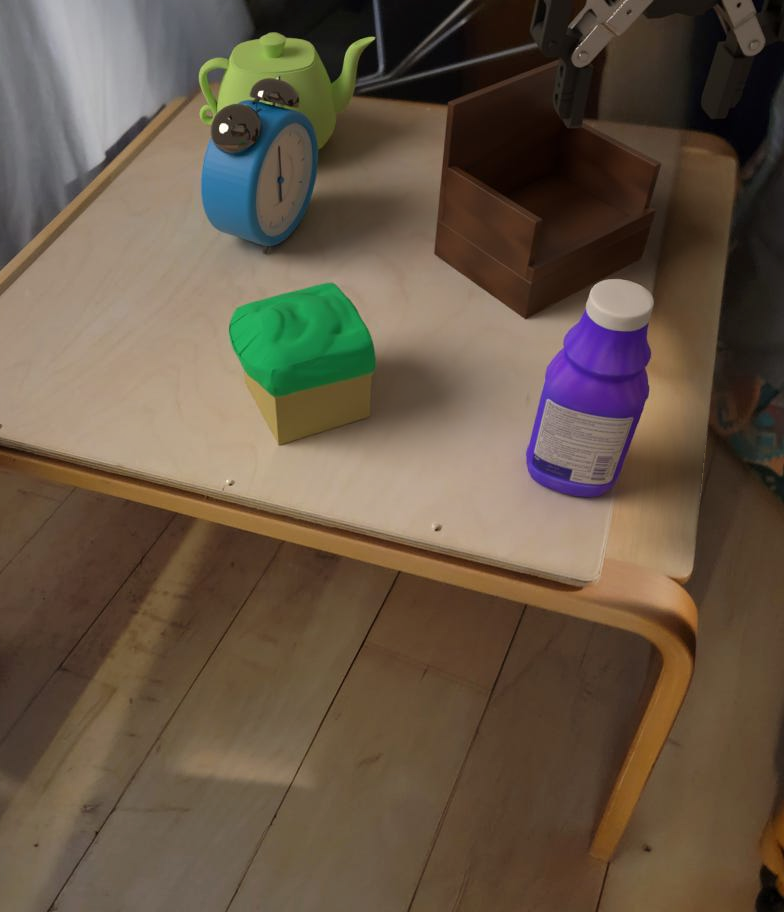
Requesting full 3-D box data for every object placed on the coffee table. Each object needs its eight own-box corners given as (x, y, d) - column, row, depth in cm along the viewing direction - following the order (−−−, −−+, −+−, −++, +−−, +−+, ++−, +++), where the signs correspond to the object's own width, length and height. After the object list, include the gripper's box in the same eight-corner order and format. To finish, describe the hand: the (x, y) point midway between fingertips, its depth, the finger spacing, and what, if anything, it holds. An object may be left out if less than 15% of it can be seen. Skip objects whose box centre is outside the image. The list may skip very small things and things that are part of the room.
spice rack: (642, 258, 91) (687, 103, 79) (524, 319, 85) (555, 162, 73) (547, 201, 98) (576, 52, 86) (433, 254, 92) (447, 101, 80)
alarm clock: (256, 273, 91) (244, 131, 80) (205, 256, 93) (187, 116, 82) (321, 208, 98) (318, 71, 87) (272, 194, 100) (264, 59, 89)
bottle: (621, 458, 73) (681, 279, 60) (613, 511, 69) (675, 333, 56) (529, 438, 74) (569, 261, 61) (517, 489, 71) (556, 311, 58)
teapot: (296, 101, 115) (292, -4, 106) (373, 141, 108) (377, 32, 98) (193, 145, 108) (179, 37, 99) (268, 191, 101) (260, 79, 91)
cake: (224, 382, 80) (212, 290, 73) (335, 350, 82) (335, 257, 75) (262, 457, 74) (254, 365, 66) (381, 420, 76) (386, 327, 69)
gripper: (599, -191, 39) (538, 158, 51) (924, -209, 39) (788, 141, 51) (552, -230, 44) (506, 96, 56) (840, -246, 44) (734, 80, 56)
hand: (641, 117), depth 53 cm, fingers open, 8 cm apart
